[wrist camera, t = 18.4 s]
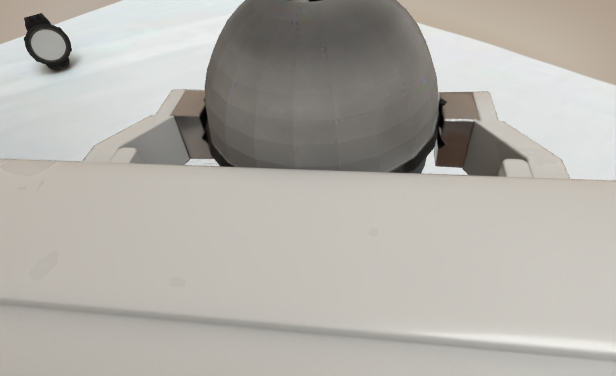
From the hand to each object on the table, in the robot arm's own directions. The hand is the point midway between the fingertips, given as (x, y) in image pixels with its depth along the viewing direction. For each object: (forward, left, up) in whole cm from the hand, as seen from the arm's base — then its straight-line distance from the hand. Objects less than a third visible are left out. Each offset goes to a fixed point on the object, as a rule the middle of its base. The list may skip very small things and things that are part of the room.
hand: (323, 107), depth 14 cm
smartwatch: (-34, -16, -11) cm, 39 cm away
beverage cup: (+1, 0, -11) cm, 11 cm away
